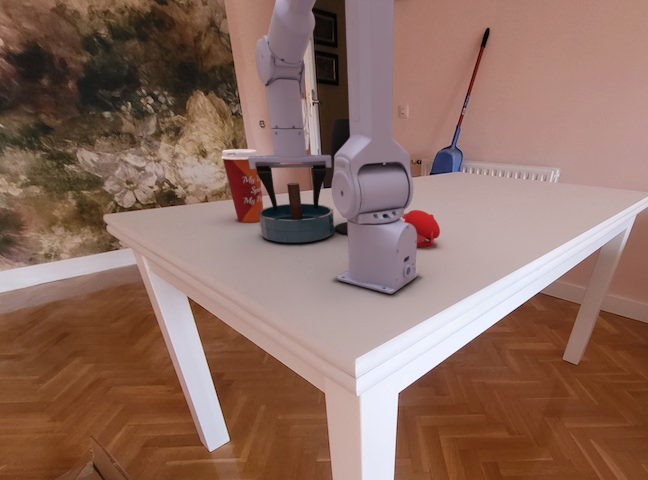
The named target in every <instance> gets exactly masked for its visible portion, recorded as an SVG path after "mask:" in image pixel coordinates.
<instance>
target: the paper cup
mask: <svg viewBox="0 0 648 480" xmlns="http://www.w3.org/2000/svg"><path fill="white" fill-rule="evenodd" d="M221 155H222V156H221V157H220V159H222V161H223V165H224V169H225V174H226V177H227V182H228V185H229V190H230V194H231V198H232V202H233V205H234V209H235V213H236V218H237V221H239V222H241V223H257V222H259V217H258V212H259V211H260V210H262V209H264V203H263V202H264V201H263V191H262V181H261V180H260V178H259V177H258V175H257V169H250V166H249V160H248V157H249V156H259V154H258V151H257V150H256V149H250V148H233V149H224V150H222V151H221Z"/></svg>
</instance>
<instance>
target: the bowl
mask: <svg viewBox="0 0 648 480" xmlns="http://www.w3.org/2000/svg"><path fill="white" fill-rule="evenodd" d="M301 207H302V217H303V219H300V220H291V213H290V204H289V203H283V204H277V210H273V206H267V207H263V209H262V210H260V211H259V212H258V217H259V221H258V222H259V229H260V234H261V236H262V238H264V239H266V240H269V241H272V242H276V243H284V244H285V243H286V244H303V243H311V242H315V241H320V240H323V239H326V238H328V237H331V236H332V235H334V233H335V219H334V218H335V217H334V209H333V208H332V207H330V206H327V205H323V204H318V209H315V208H314V204H313V203H306V202H305V203H303V202H301Z"/></svg>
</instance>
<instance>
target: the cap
mask: <svg viewBox="0 0 648 480" xmlns="http://www.w3.org/2000/svg"><path fill="white" fill-rule="evenodd" d="M401 219H403V222H405V223H409V224H411V225H413V226H414V227H415V229H416V233H417V247H420V248H421V247H429V246H430V247H431V246H432V245H433V244H434V242H435V239H438V238H439V237H440V234H441V228H440V226H439V223H438V222H437V220H436V219H435V217H434V214H429V213H428V212H426V211H423V210H420V209H413V210H410V211H408V212H407V213H404V217H401ZM425 240H426V241H425ZM427 240H428V241H427Z"/></svg>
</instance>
